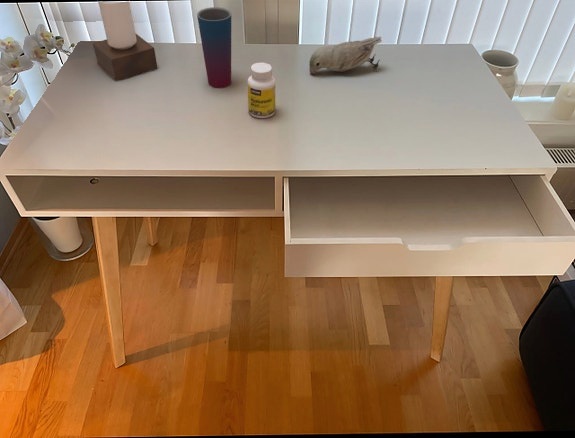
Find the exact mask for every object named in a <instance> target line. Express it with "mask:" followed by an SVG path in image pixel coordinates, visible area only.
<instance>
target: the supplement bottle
mask: <svg viewBox="0 0 575 438" xmlns="http://www.w3.org/2000/svg"><path fill="white" fill-rule="evenodd" d="M247 105H248V106H247V109H248V113H249V114H250V115H251V116H252V117H254V118H256V119H267V118H271V117H272V116H273V115H274V114H275V112H276V79H275V77H274V76H273V66H272V65H271V64H269V63H266V62H255V63H253V64H252V65H251V66H250V75H249V77H248V79H247Z"/></svg>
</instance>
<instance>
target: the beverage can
mask: <svg viewBox="0 0 575 438" xmlns="http://www.w3.org/2000/svg"><path fill="white" fill-rule="evenodd" d="M97 3H98V7H99V12H100V15H101V20H102V25H103V28H104V29H103V30H104V33H105V37H106V39H107V42H108V44H109V45H110V46H111V47H114V48H115V49H120V50H123V49H128V48H131V47H132V46H133V45H134V44H135V43H136V41H137V40H136V34H137V33H136V29H135V24H134V23H135V22H134V18H133V13H132V8H131V3H130V1H129V2H98V1H97ZM135 33H136V34H135Z"/></svg>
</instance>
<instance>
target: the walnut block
mask: <svg viewBox="0 0 575 438" xmlns="http://www.w3.org/2000/svg"><path fill="white" fill-rule="evenodd" d="M135 34H136V40H137V41H136V43H135V44H134V45H133V46H132V47H131V48H128V49H123V50H120V49H115V48H114V47H111V46H110V45H109V44H108V42H107V38H106V39H102V40H99V41H95V42H92V47H93V51H94V55H95V57H96V63H97V65H98V66H99V67H100V68H101V69H103V71H105V72H106V73H107V74H108V76H110V77H111V78H112V79H113V80H114V81H115V82H119V81H123V80H125V79H129V78H131V77H134V76H138V75H141V74H145V73H148V72H151V71H154V70H158V62H157V56H156V49H155V47H154V46H153V45H151V44H150V43H149V42H148V41H146V40H145V39H144V38H143V37H141V36H140V35H138V34H137V33H136V32H135Z"/></svg>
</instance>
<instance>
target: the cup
mask: <svg viewBox="0 0 575 438" xmlns="http://www.w3.org/2000/svg"><path fill="white" fill-rule="evenodd" d="M196 18H197V24H198V28H199V35H200V41H201V48H202V54H203V59H204V65H205V66H204V67H205V71H206V78H207V84H208V85H209V86H210V87H212V88H216V89H222V88H226V87H229V86H230V85H231V84H232V11H230V9H227V8H225V7H218V6H217V7H216V6H214V7H213V6H212V7H206V8H203V9H200V10H199V11H197V13H196Z"/></svg>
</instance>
